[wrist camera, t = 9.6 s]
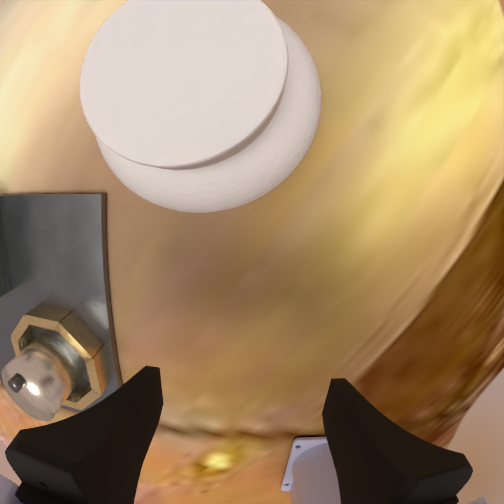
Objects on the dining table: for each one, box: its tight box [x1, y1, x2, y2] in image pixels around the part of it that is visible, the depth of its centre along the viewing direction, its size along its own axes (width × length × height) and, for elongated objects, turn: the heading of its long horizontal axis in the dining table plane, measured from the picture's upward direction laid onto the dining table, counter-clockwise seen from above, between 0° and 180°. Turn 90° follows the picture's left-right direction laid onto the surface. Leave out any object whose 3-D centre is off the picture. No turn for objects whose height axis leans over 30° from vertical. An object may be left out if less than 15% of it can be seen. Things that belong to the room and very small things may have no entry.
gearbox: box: [0, 193, 123, 413], centre depth 19 cm, size 20×16×6 cm
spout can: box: [2, 329, 87, 421], centre depth 18 cm, size 5×5×7 cm
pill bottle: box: [80, 0, 321, 213], centre depth 12 cm, size 8×7×14 cm
